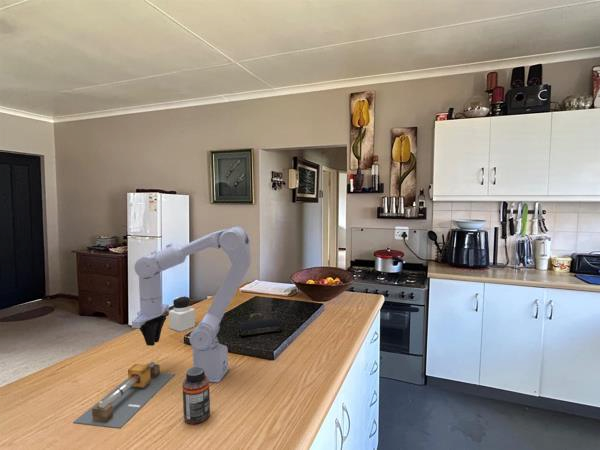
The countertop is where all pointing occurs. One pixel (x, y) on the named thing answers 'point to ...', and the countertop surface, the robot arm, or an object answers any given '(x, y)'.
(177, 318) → the medicine bottle
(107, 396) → the pipe rig
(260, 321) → the pipe connector
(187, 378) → the supplement bottle
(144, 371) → the collar
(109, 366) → the countertop surface
